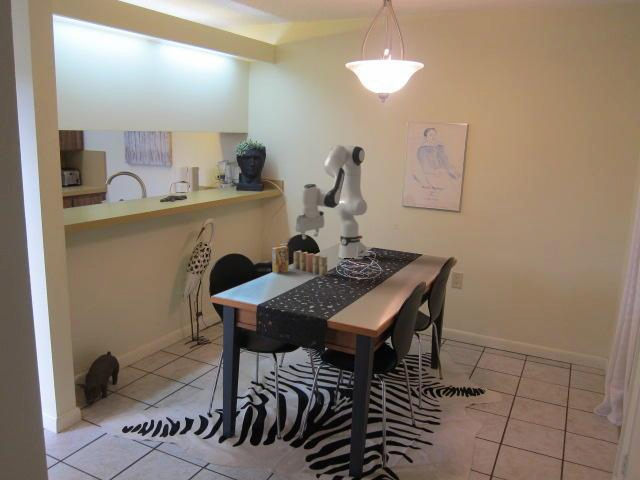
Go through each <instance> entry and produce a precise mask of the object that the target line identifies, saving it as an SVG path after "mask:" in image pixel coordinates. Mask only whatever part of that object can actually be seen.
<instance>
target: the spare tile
mask: <svg viewBox="0 0 640 480" xmlns="http://www.w3.org/2000/svg"><path fill="white" fill-rule="evenodd" d="M313 256H315V253H308V254H307V255H306V272H311V271H313Z"/></svg>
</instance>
